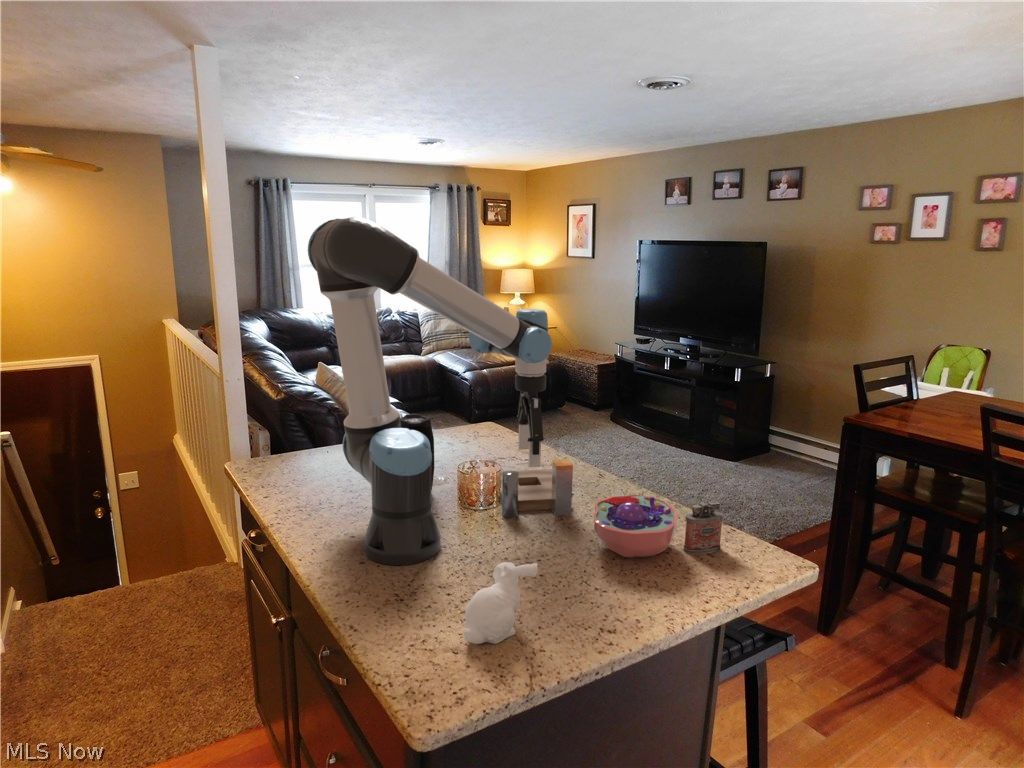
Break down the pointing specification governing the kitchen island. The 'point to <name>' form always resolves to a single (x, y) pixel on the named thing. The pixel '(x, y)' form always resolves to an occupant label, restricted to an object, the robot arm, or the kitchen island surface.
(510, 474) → the round bit
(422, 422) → the portable speaker
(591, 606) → the kitchen island surface
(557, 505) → the square bit
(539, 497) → the socket plate
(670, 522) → the cell model
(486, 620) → the rabbit
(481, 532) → the kitchen island surface
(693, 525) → the lighter
